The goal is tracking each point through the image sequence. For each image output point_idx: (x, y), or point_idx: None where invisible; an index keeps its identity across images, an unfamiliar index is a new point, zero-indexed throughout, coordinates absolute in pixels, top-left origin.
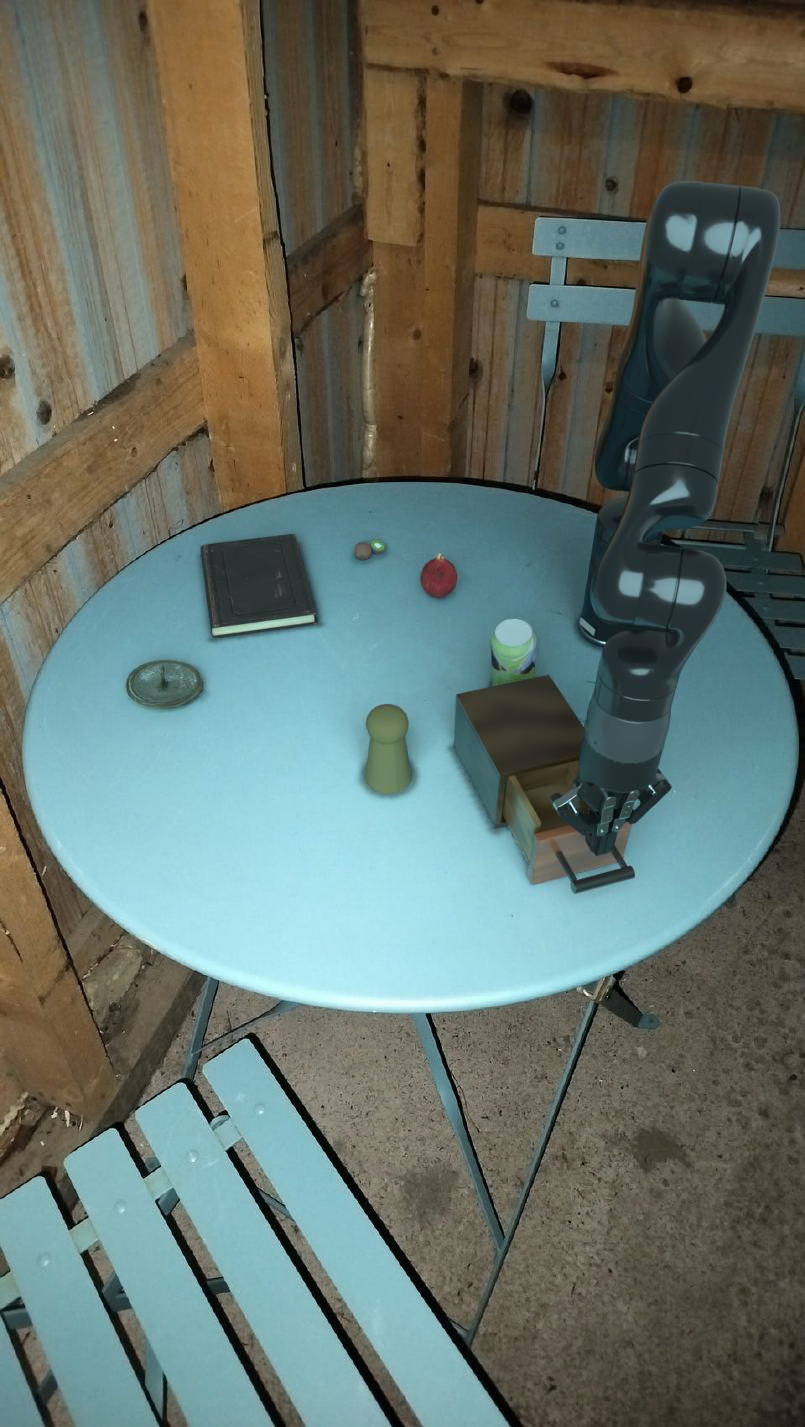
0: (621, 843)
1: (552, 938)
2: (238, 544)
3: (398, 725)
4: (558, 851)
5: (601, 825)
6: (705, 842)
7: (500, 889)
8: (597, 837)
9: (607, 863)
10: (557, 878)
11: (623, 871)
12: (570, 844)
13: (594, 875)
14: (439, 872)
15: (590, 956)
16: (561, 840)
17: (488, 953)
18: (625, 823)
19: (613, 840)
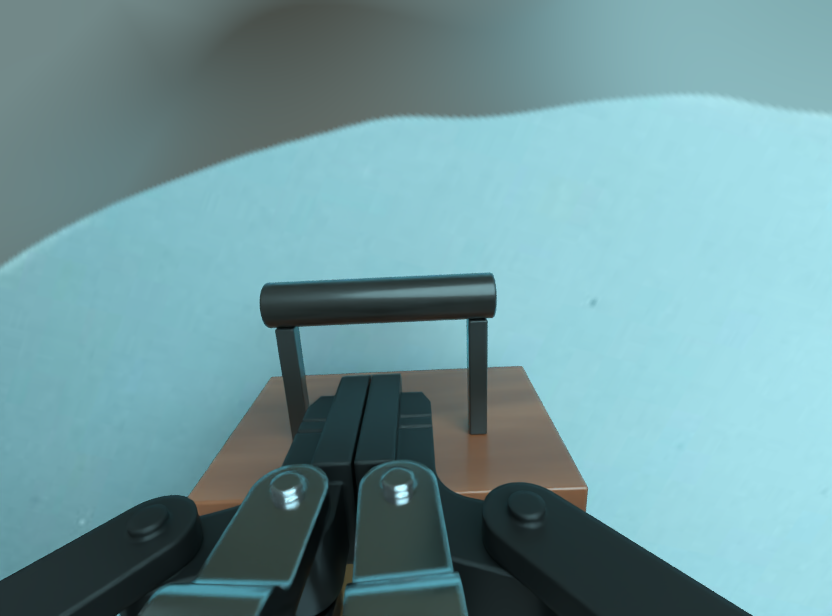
0: (260, 418)
1: (528, 214)
2: None
3: None
4: (479, 434)
5: (420, 547)
6: (44, 381)
7: (584, 376)
8: (407, 454)
9: (312, 378)
10: (452, 369)
11: (300, 306)
12: (440, 448)
13: (408, 317)
14: (693, 449)
15: (457, 134)
16: (483, 470)
17: (701, 214)
18: (223, 483)
19: (314, 422)
